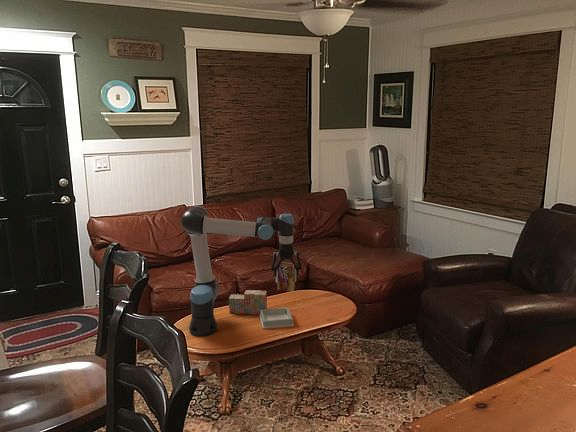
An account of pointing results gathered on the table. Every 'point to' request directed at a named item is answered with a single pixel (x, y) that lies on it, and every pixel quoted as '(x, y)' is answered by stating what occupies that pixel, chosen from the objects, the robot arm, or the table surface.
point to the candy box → (286, 276)
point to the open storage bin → (275, 318)
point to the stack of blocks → (248, 302)
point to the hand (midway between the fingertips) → (285, 281)
